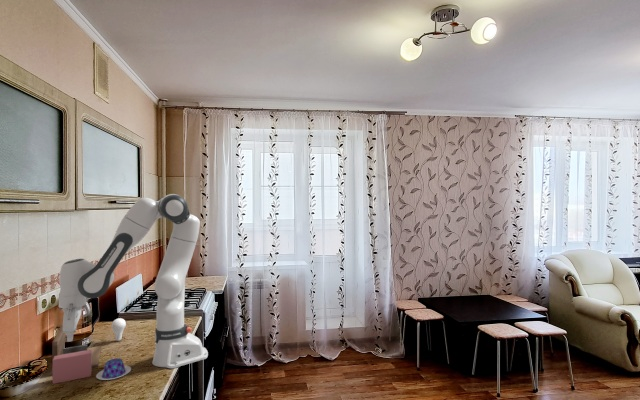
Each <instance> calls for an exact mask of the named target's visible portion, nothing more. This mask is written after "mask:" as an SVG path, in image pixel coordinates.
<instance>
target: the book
mask: <svg viewBox="0 0 640 400" xmlns="http://www.w3.org/2000/svg"><path fill="white" fill-rule="evenodd" d="M92 369H93V368H92V350H87V351H81V352H75V353H69V354H64V355H58V356H54V358H53V376H52V384H53V385H54V384H59V383H64V382H68V381H73V380H78V379H84V378H89V377H91V376H92V371H93V370H92Z"/></svg>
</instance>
